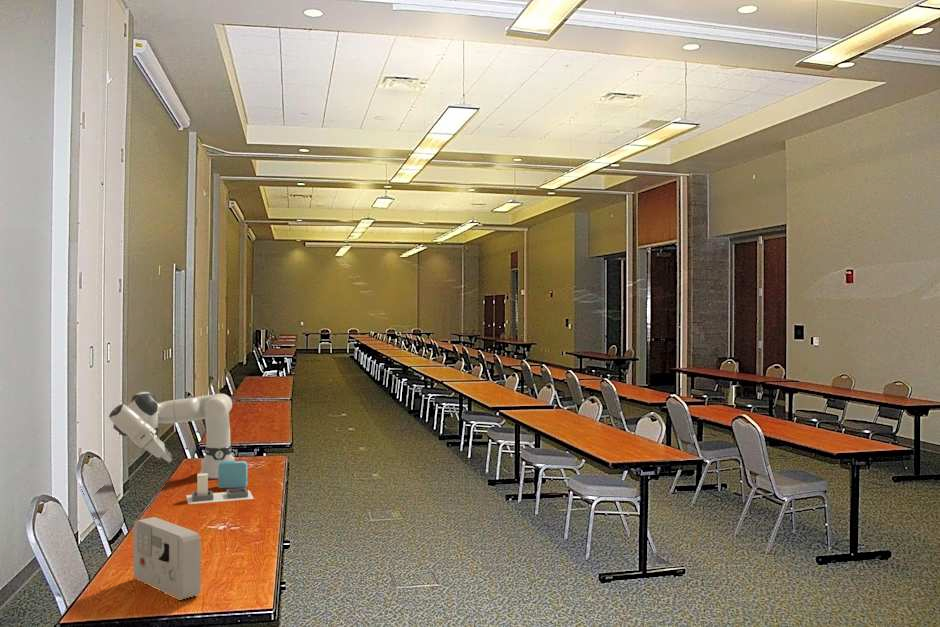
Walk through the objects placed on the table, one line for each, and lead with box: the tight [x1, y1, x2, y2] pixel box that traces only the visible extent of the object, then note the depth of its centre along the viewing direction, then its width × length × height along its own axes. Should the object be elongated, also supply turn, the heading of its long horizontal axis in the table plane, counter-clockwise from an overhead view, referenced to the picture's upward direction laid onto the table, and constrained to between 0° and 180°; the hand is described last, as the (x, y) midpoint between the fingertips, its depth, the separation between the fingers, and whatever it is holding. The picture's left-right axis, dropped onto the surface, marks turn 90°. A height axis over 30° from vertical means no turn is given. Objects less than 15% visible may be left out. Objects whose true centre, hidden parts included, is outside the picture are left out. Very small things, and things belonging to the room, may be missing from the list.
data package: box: [217, 460, 249, 489], centre depth 345 cm, size 12×4×12 cm, turn 98°
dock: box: [186, 487, 255, 505], centre depth 326 cm, size 16×26×3 cm, turn 113°
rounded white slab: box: [132, 516, 202, 601], centre depth 222 cm, size 29×8×18 cm, turn 50°
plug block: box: [196, 473, 209, 496], centre depth 323 cm, size 4×4×10 cm
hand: (170, 458), depth 318 cm, fingers open, 8 cm apart
